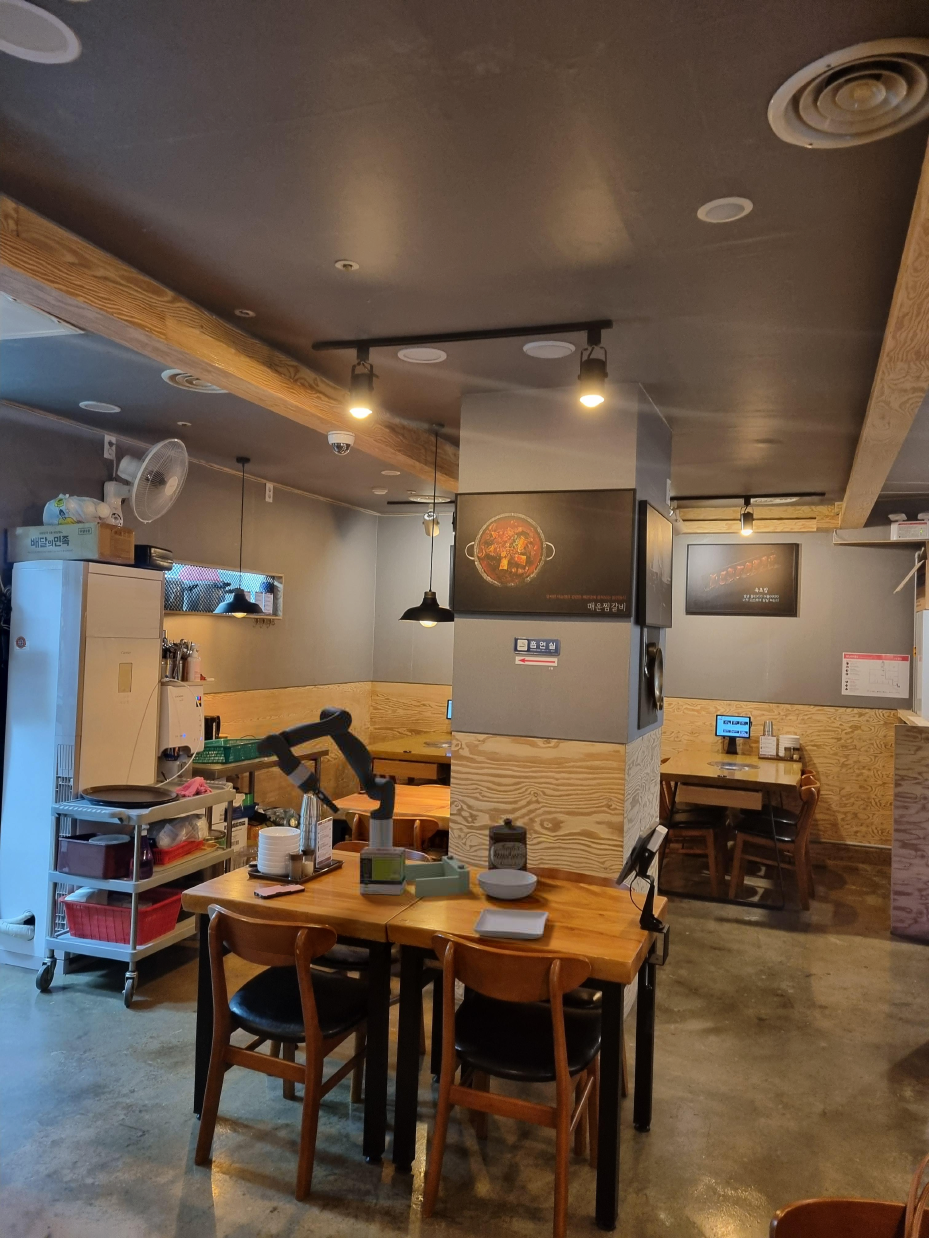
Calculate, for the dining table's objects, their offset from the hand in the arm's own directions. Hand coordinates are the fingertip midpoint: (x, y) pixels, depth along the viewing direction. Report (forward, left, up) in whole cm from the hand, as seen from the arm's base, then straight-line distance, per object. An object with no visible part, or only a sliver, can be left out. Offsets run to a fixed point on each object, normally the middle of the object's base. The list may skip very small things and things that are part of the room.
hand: (336, 810), depth 304 cm
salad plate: (+57, +46, -29) cm, 79 cm away
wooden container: (-1, +66, -28) cm, 72 cm away
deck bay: (+6, +35, -28) cm, 46 cm away
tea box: (+6, +16, -28) cm, 33 cm away
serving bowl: (+23, +57, -28) cm, 68 cm away
